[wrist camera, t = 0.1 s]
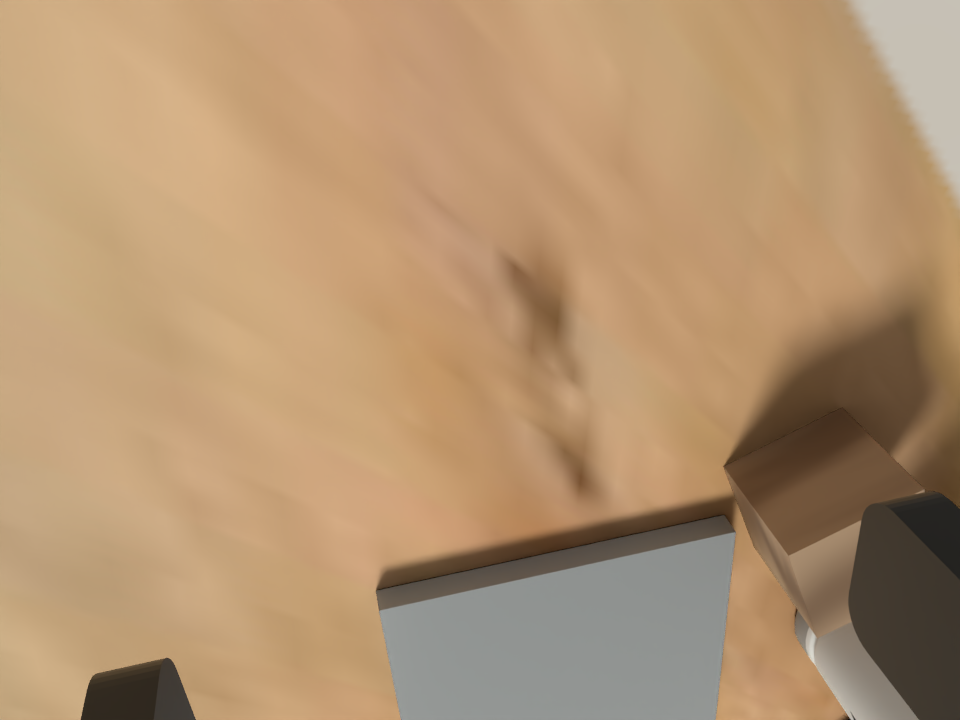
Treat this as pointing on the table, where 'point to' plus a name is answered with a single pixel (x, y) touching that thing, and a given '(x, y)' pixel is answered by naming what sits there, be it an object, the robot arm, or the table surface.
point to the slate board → (569, 632)
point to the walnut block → (815, 509)
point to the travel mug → (852, 674)
